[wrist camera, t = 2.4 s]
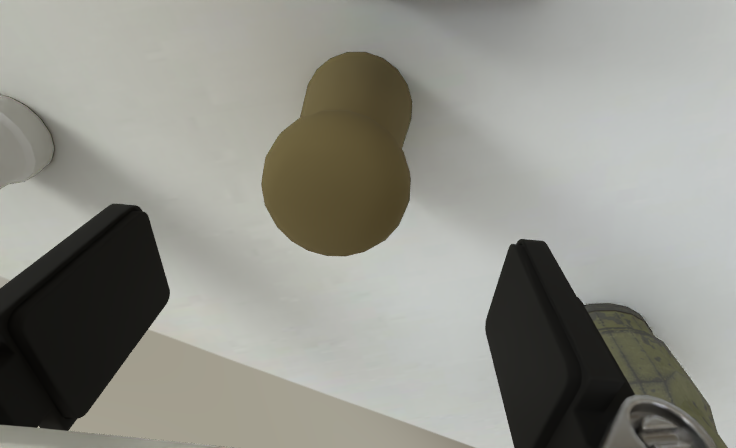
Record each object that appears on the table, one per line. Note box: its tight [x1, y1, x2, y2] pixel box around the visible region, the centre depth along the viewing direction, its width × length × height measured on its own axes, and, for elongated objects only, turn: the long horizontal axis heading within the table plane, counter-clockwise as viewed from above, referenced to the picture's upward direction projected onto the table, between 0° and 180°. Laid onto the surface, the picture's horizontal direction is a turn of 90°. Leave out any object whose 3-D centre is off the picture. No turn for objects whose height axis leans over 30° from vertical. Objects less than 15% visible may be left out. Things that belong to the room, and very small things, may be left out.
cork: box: [261, 52, 412, 256], centre depth 17 cm, size 6×6×11 cm
